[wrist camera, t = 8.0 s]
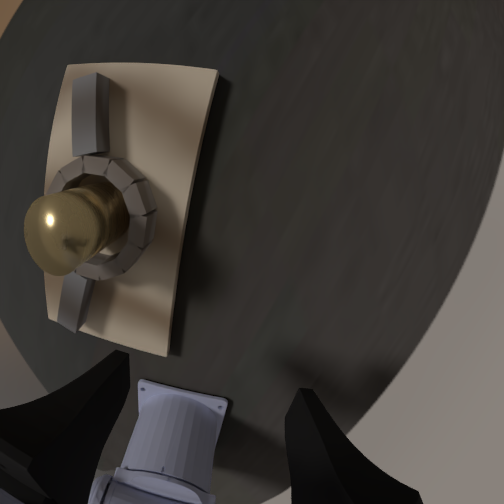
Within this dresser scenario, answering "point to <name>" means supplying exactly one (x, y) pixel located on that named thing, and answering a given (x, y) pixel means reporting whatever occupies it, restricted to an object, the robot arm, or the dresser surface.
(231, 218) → the dresser surface
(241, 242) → the dresser surface
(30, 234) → the cylinder
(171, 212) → the coupling plate
